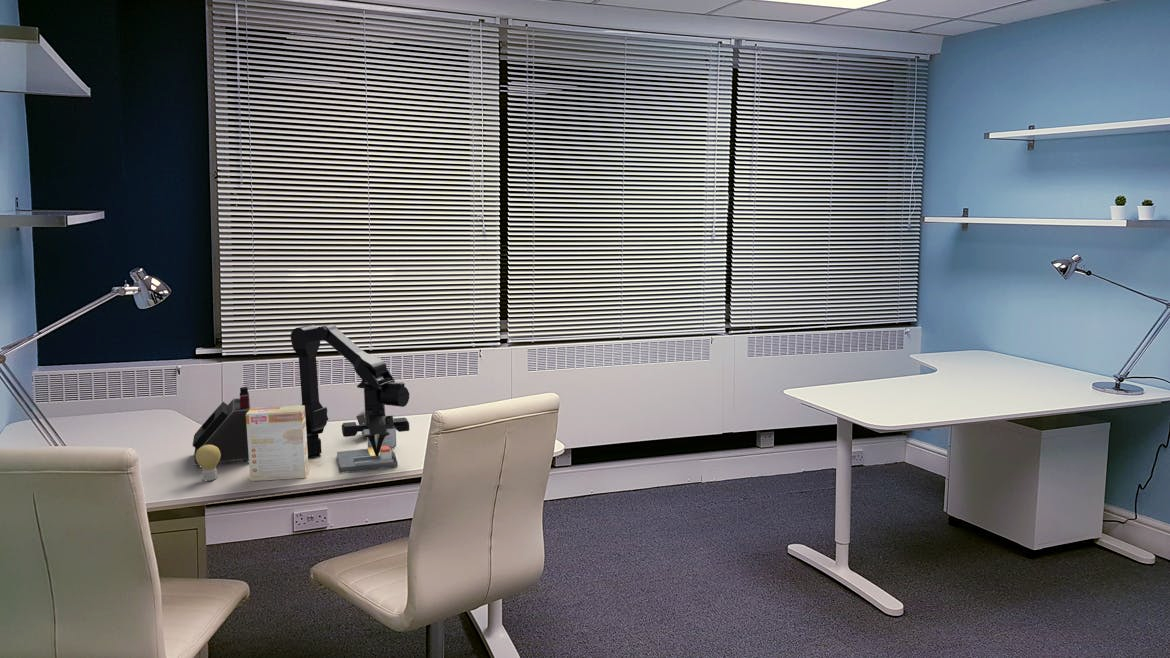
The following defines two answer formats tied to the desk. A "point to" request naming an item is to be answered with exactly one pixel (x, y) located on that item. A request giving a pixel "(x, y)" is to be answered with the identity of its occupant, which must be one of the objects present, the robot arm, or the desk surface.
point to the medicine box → (386, 439)
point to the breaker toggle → (385, 453)
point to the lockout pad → (372, 451)
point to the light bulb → (208, 461)
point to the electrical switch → (361, 419)
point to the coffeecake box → (277, 443)
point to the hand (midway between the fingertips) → (376, 455)
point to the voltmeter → (227, 429)
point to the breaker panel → (363, 461)
